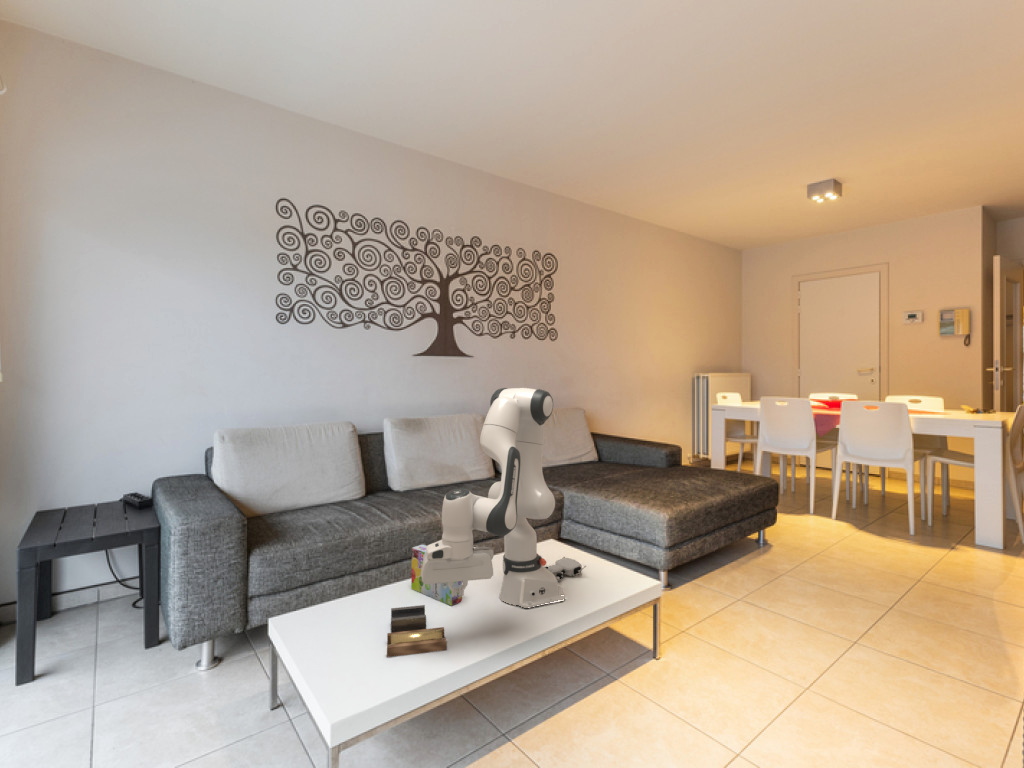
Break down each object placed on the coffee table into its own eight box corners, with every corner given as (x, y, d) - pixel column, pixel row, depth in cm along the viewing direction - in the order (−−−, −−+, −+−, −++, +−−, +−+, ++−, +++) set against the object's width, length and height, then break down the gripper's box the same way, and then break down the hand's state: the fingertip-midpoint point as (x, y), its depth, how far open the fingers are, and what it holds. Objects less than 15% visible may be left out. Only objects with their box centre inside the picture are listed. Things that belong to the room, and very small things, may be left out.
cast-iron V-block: (424, 621, 156) (424, 605, 156) (426, 634, 149) (426, 617, 149) (391, 624, 154) (391, 608, 154) (391, 637, 146) (391, 620, 146)
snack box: (463, 601, 170) (463, 556, 170) (451, 607, 166) (451, 561, 166) (422, 584, 184) (422, 543, 184) (410, 589, 180) (410, 547, 180)
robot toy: (558, 587, 184) (587, 575, 192) (557, 575, 183) (587, 563, 192) (536, 576, 193) (566, 565, 202) (536, 565, 193) (565, 554, 202)
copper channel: (443, 635, 148) (443, 627, 148) (446, 650, 140) (446, 641, 140) (387, 641, 144) (387, 633, 144) (387, 657, 136) (387, 648, 136)
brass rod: (441, 640, 146) (441, 626, 146) (442, 647, 142) (442, 633, 142) (391, 646, 143) (390, 631, 143) (390, 653, 139) (390, 638, 139)
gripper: (491, 541, 150) (491, 587, 150) (421, 546, 145) (421, 594, 145) (495, 548, 144) (495, 596, 144) (422, 554, 139) (422, 604, 139)
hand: (457, 595), depth 145 cm, fingers closed
